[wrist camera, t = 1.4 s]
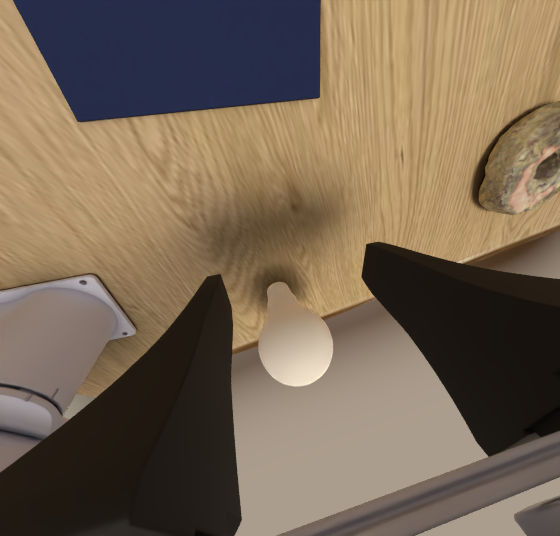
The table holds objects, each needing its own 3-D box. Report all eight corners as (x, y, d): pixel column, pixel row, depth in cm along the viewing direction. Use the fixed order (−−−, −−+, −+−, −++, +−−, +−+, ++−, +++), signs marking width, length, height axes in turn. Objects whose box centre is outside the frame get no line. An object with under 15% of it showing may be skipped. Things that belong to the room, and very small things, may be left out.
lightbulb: (243, 302, 23) (252, 404, 14) (259, 258, 21) (283, 350, 12) (290, 309, 26) (323, 401, 17) (310, 270, 23) (363, 354, 14)
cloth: (80, 121, 13) (77, 121, 13) (-70, -162, 8) (-80, -172, 8) (318, 97, 15) (319, 97, 14) (319, -143, 10) (321, -150, 10)
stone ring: (542, 192, 24) (588, 84, 18) (584, 199, 21) (655, 74, 15) (460, 221, 24) (481, 125, 19) (490, 233, 21) (526, 122, 16)
